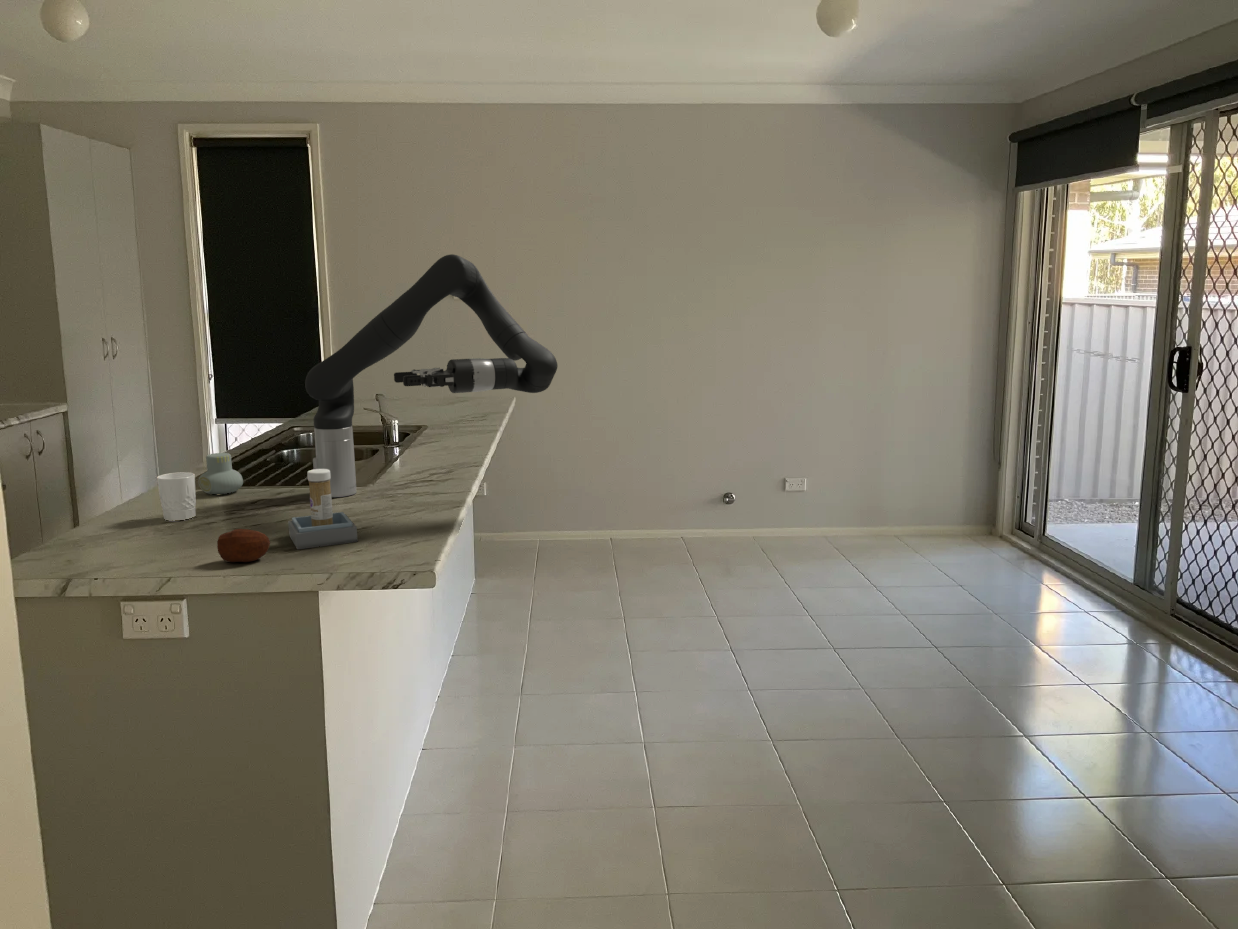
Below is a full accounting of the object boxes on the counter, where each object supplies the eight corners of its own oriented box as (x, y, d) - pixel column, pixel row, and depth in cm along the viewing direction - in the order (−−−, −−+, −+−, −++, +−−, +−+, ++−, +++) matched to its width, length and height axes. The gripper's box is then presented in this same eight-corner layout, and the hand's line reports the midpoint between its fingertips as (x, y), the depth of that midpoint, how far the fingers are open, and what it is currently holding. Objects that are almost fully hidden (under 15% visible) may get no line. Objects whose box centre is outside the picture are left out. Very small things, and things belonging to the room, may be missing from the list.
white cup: (206, 515, 224) (202, 473, 222) (181, 523, 217) (176, 480, 215) (179, 513, 227) (175, 471, 225) (153, 521, 220) (148, 478, 218)
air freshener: (247, 493, 247) (244, 454, 245) (216, 498, 241) (212, 459, 239) (227, 487, 255) (223, 450, 253) (196, 492, 249) (192, 454, 247)
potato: (228, 556, 191) (225, 524, 190) (275, 555, 191) (273, 523, 190) (214, 566, 184) (211, 533, 183) (263, 565, 184) (260, 533, 183)
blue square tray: (297, 549, 195) (295, 530, 194) (289, 535, 206) (287, 517, 205) (357, 541, 200) (356, 523, 199) (346, 528, 211) (345, 510, 210)
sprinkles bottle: (307, 533, 202) (302, 470, 200) (326, 529, 206) (321, 467, 203) (320, 537, 200) (315, 473, 197) (338, 532, 203) (334, 469, 200)
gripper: (460, 356, 222) (390, 359, 215) (480, 360, 209) (405, 364, 202) (462, 388, 223) (392, 393, 216) (481, 395, 211) (407, 400, 204)
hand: (398, 379), depth 209 cm, fingers open, 8 cm apart
